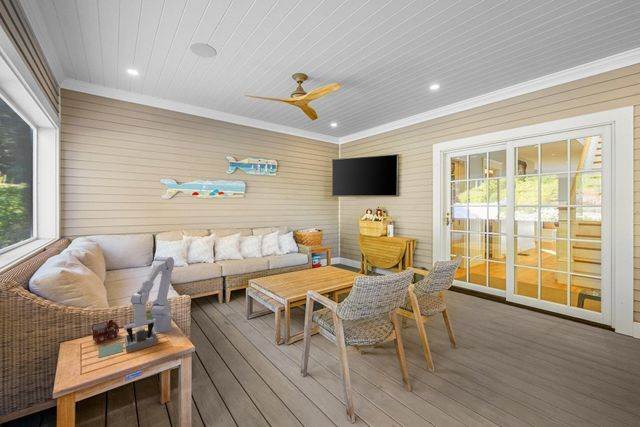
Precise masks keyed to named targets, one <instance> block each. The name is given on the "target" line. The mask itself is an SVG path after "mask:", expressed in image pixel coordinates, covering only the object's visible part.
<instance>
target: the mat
mask: <svg viewBox="0 0 640 427" xmlns="http://www.w3.org/2000/svg"><path fill="white" fill-rule="evenodd" d="M121 353H124V346H123V342H121V341H120V342H118V343H113V344H109V345H106V346H102V347H98V353H97V354H98V356H97V358H98V359H100V358H105V357H108V356H112V355H116V354H121Z"/></svg>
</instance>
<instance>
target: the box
mask: <svg viewBox="0 0 640 427" xmlns="http://www.w3.org/2000/svg"><path fill="white" fill-rule="evenodd" d="M134 329H135V330H134V333H135V337H136V343H137V342H141V341H145V340H146V331H145V330H146V329H145V326H141V327H136V328H134Z"/></svg>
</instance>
